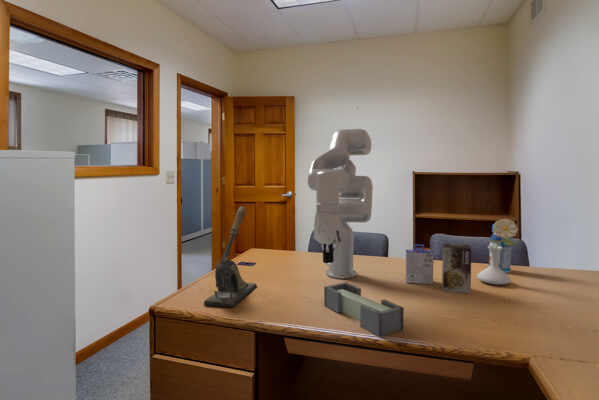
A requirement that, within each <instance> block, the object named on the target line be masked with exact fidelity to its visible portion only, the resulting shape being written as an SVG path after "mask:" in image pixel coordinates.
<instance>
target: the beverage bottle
mask: <svg viewBox="0 0 599 400" xmlns="http://www.w3.org/2000/svg"><path fill="white" fill-rule="evenodd" d="M494 224H495V223H493V224H492V226H491V231H492V234H491V235H490V237H489V239H491V240H493V241H496V242H497V243H498V244H499V243H500V242H501V240H502V239H503V237H499V236H496V235H495V234H496V233H494V230H493V227H494ZM509 239H510V240H512V237H511V238H510V237H509ZM503 240H504V239H503ZM489 241H490V240H489ZM497 243H495V242H492V241H490V242H489V244H488V246H497V245H498V244H497ZM498 246H499V247H502V249H501V251H500V252H499V255H498V266H499V268H500V269H501V270H502V271H503V272H505V273H506V274H508V273H510V272H511V270H512V269H511V262H512V261H511V260H512V250H513V246H512V245H505V244H504V243H503V241H502V242H501V243H500V244H499V245H498ZM488 252H489V253H488V254H489V256H488V257H489V259H488V267H489V266H490V264H491V253H490V251H488Z"/></svg>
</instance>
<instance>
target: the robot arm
mask: <svg viewBox="0 0 599 400" xmlns="http://www.w3.org/2000/svg"><path fill="white" fill-rule="evenodd" d="M371 151H372V139H371V136H370V135H369V133H368V131H366V130H365V129H363V128H352V129H351V128H350V129H349V128H348V129H344V128H343V129H339V130H336V131H335V132H334V133H333V134H332V136H331V140H330V143H329V146H328V150H327V151H325V152H324V153H322V154H320V155H318V156H317V157H316V158H315V159H314V160H313V161H312V162H311V165H310V167H309V170H308V175H307V186H308V188H309V189H311V190H312V191H316V194H315V196H316V203H315V204H316V206H315V207H316V212H315V214H314V223H313V238H314V240H315V241H317V243H319V244H320V245H321V250H322V263H325V264H326V265H327V266H328V269H327V270H326V271H325V272H326V273H325V274H326V276H328V277H330V278H334V279H339V280H340V279H344V280H345V279H353V278H355V277H357V274H358V272H357V270H356V269H354V232H353V229H352V227H351V226H350V225H349V223H368V222H369V221H370V220H371V217H372V211H373V192H374V191H373V181H372V179H371V178H370V177H369V176H367V175H356V173H357V172H356V171H357V167H356V165H355V164H354V162H353V161H352V160H351V159H350V157H351V156H367V155H368V154H370V153H371Z"/></svg>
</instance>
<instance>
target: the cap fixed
mask: <svg viewBox="0 0 599 400" xmlns="http://www.w3.org/2000/svg"><path fill="white" fill-rule="evenodd" d="M380 304H382V305H385V306H387V307H390V308H392V309H388V310H384V311H381V312H379V311H376V310H374V309H372V308H370V307H368V306H366V305H364V304H363V305H361V309H360V320H359V322H360V323H359V326H360V328H363V329H364V330H366V331H367V332H369V333H371V334H372V335H374V336H376V337H377V338H380V337H383V336H386V335H391V334H393V333H396V332H399V331H403V330H404V313H405V312H404V311H405V309H404V307H403V306H401V305H398V304H396V303H394V302H391V301H389V300H387V299H385V298H384V299H381V301H380Z"/></svg>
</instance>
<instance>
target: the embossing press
mask: <svg viewBox="0 0 599 400" xmlns="http://www.w3.org/2000/svg"><path fill="white" fill-rule="evenodd" d="M235 213H236V214H235V216H234V217H235V218H234V221H233V223H232V226H231V228H230V232H229V233H230V234H229V235H230V237H229V240H228V241H227V242H228V243H227V244H226V247H225V248H226V249H225V250H224V253H223V254H222V257H221V259H220V260H219V262H218V264H217V265H216V268H215V271H214V274H215V275H214V277H215V287H216V288H217V290H214V293H213V294H211V296H209V297H208V298H206V299H205V300H204V302H203V305H204V306H212V307H224V308H225V307H230V308H232V307H234V306H236V305H237V304H238V303H239V302H240V301H241V300H242V299H244V298H245V297H246V296H247V295H249V294H250V293H251V292H252V291H253V290H254V289H255V288H256V287H257V283H255V282H246V281H245V280H244V279H243V278H242V276H241V274H240V270H239V267H238V265H237V263H236V262H235V261H233V260H232V259H228V258H229V254H230V251H231V248H232V245H233V242H234V240H235V238H236V237H237V235H238V233H239V230H240V228H241V227H240V226H241V225H242V223H243V220H244V218H245V216H246V208H245V207H244V206H243V205H242V206H240V207H239V208H238V209H237V211H236V212H235Z"/></svg>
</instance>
